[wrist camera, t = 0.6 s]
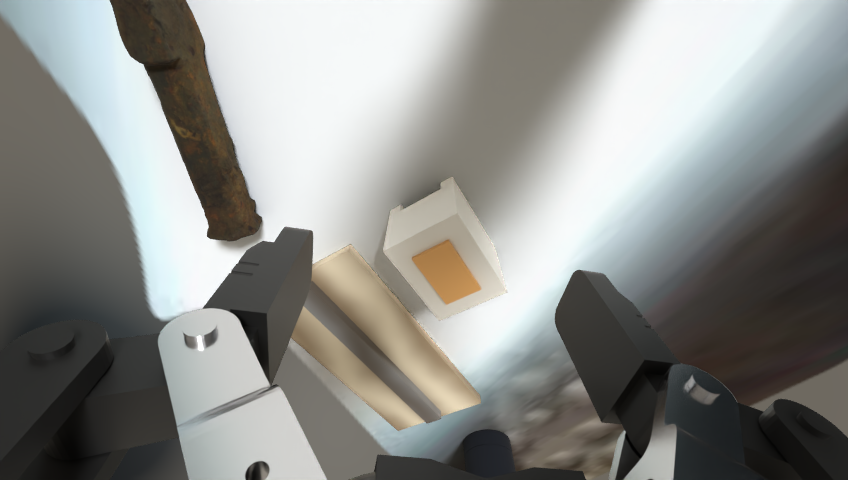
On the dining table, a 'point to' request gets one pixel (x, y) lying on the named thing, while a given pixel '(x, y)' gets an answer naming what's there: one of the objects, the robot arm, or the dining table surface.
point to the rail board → (377, 345)
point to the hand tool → (190, 108)
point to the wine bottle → (488, 454)
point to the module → (444, 252)
